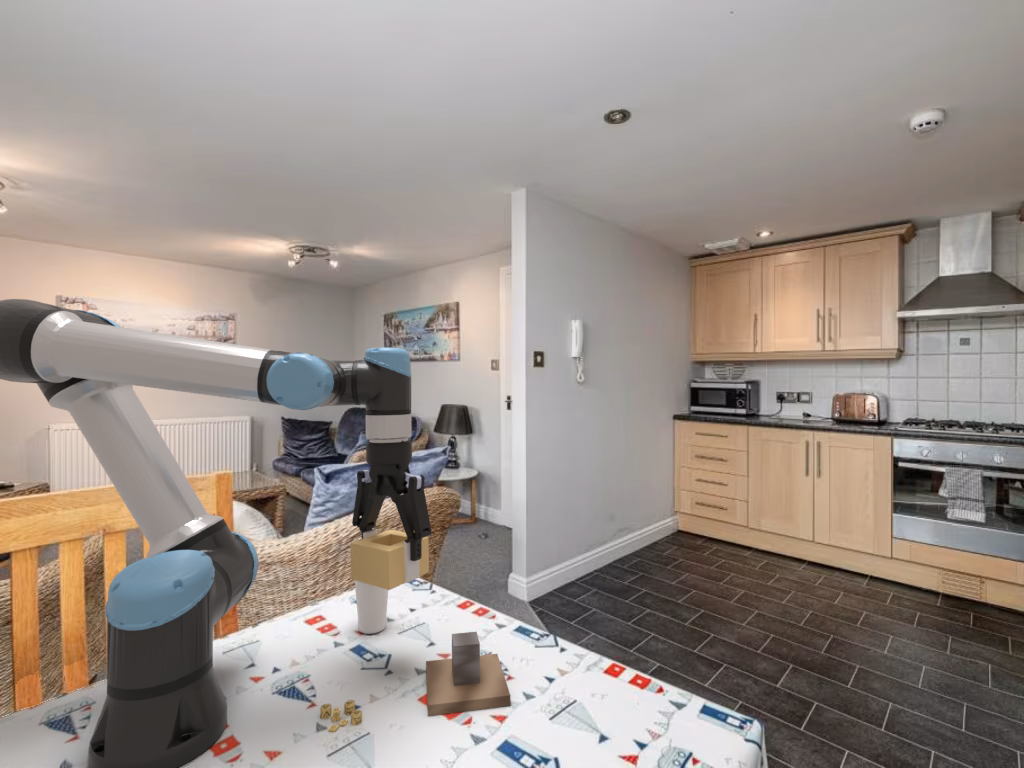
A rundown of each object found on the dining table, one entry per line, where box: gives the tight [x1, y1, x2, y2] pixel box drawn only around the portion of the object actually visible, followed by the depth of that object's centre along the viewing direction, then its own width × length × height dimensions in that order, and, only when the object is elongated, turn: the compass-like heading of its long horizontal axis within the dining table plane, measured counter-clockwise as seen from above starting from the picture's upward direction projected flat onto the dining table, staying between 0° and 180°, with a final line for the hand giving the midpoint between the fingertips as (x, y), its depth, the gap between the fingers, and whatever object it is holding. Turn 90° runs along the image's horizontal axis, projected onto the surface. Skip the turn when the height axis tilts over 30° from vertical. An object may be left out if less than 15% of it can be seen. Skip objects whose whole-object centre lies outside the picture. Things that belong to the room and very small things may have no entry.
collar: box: [350, 529, 430, 591], centre depth 85 cm, size 9×9×6 cm
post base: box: [425, 631, 511, 717], centre depth 79 cm, size 12×12×8 cm
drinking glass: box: [354, 580, 389, 635], centre depth 99 cm, size 7×7×15 cm
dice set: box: [319, 699, 363, 734], centre depth 71 cm, size 5×5×2 cm
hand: (390, 573), depth 85 cm, fingers closed on collar, 9 cm apart
